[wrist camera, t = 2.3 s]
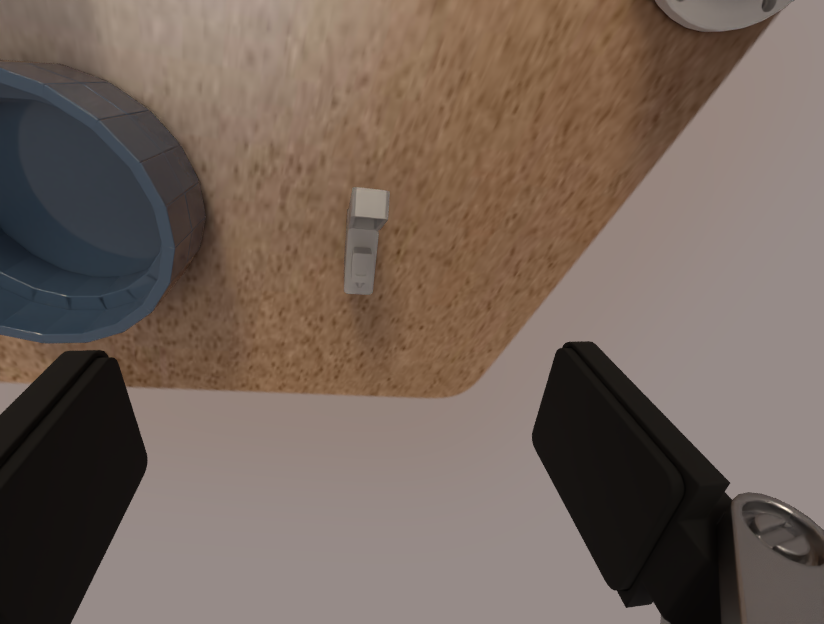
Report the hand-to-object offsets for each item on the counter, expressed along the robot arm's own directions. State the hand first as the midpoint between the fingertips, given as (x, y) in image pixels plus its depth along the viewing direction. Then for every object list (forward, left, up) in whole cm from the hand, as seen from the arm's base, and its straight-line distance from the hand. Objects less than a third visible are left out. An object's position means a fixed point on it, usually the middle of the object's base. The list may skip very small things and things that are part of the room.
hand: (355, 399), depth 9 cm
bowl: (+15, +1, -20) cm, 25 cm away
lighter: (-1, +2, -20) cm, 20 cm away
